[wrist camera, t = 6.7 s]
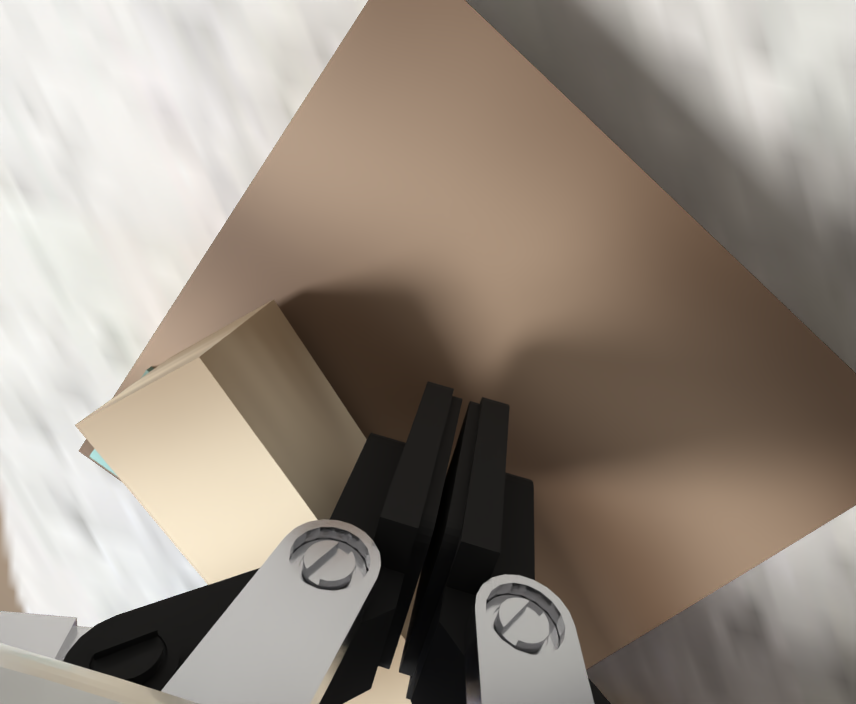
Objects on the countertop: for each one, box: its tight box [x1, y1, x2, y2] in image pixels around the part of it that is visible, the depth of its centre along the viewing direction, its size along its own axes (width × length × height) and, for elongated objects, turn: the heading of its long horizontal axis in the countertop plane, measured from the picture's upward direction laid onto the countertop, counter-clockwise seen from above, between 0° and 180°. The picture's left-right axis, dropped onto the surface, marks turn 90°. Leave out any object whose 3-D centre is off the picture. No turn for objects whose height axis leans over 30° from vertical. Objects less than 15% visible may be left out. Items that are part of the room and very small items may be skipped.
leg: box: [75, 299, 421, 704], centre depth 12 cm, size 13×3×4 cm, turn 30°
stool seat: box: [79, 0, 856, 670], centre depth 14 cm, size 14×14×3 cm
